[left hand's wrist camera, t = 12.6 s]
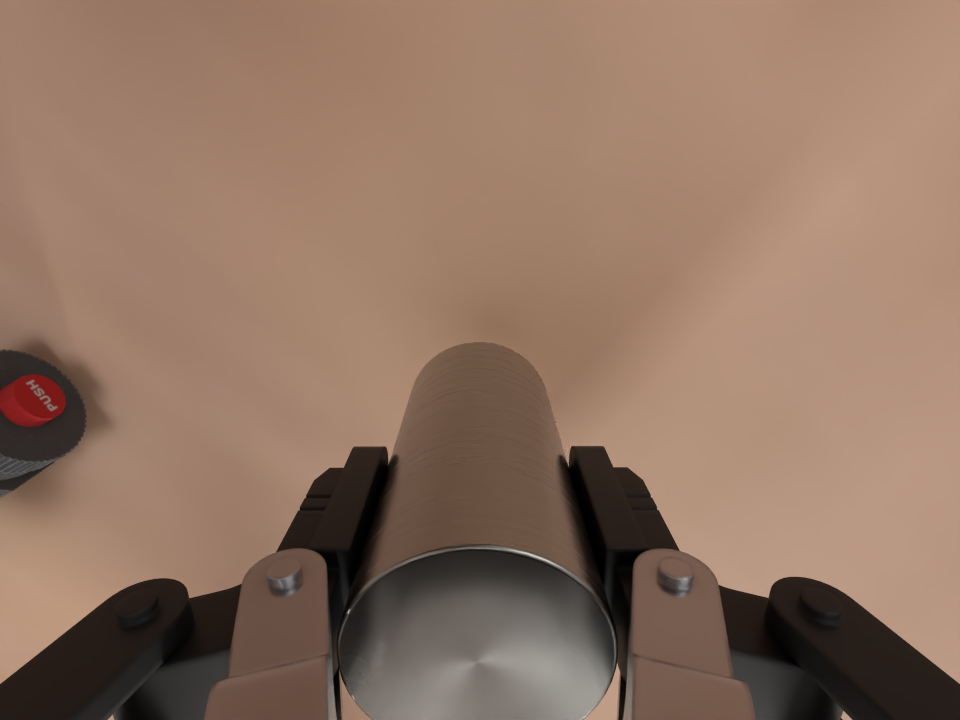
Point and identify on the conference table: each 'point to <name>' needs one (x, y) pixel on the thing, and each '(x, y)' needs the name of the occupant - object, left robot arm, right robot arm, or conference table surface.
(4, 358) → the laser sight
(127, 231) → the conference table surface
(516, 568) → the tin
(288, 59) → the conference table surface
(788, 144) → the conference table surface
